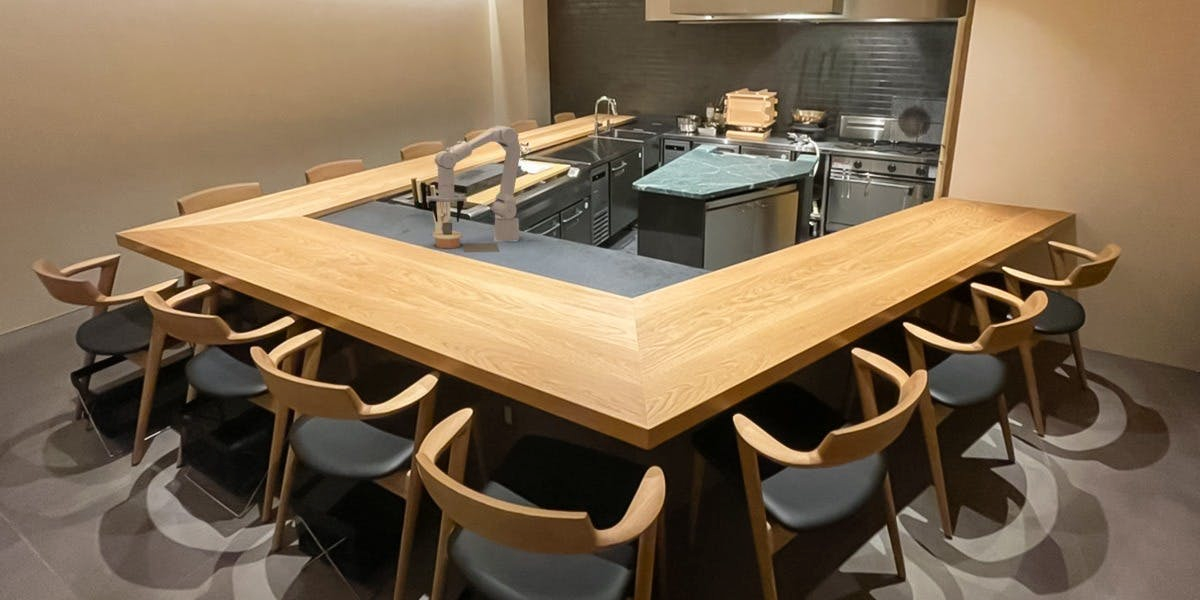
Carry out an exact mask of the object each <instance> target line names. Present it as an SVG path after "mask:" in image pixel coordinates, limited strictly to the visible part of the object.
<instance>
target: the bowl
mask: <svg viewBox="0 0 1200 600" xmlns="http://www.w3.org/2000/svg"><path fill="white" fill-rule="evenodd" d="M460 243H461V238H457V239H437V238H435V247H437V248H440V249H456V248H459V247H460V246H461V244H460Z"/></svg>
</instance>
